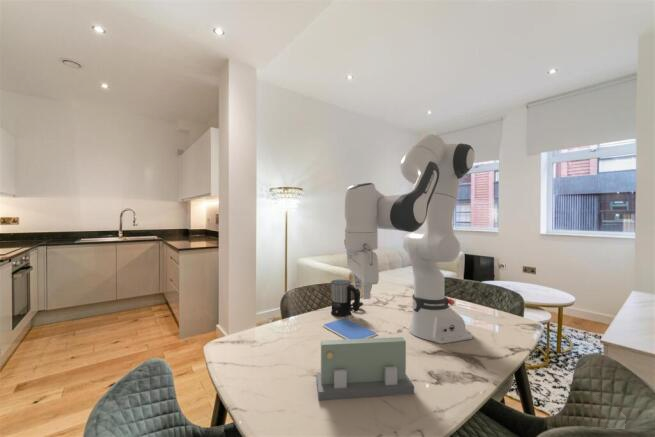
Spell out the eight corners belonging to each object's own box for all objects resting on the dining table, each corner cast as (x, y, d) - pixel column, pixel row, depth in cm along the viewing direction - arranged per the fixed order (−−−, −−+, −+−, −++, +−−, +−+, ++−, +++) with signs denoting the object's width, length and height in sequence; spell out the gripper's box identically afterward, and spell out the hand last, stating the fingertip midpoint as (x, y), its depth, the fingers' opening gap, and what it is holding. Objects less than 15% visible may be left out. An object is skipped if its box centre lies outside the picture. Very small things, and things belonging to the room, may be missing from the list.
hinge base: (401, 375, 75) (401, 353, 75) (414, 393, 67) (414, 370, 67) (316, 380, 73) (316, 358, 73) (318, 400, 65) (318, 375, 65)
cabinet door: (402, 374, 72) (402, 337, 72) (407, 382, 69) (408, 343, 69) (320, 378, 70) (320, 340, 70) (322, 388, 66) (322, 347, 66)
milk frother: (328, 316, 120) (328, 283, 120) (335, 305, 135) (335, 275, 135) (360, 319, 117) (360, 285, 117) (363, 307, 132) (364, 277, 132)
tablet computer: (378, 336, 101) (378, 332, 101) (354, 345, 94) (354, 342, 94) (345, 320, 117) (345, 317, 117) (321, 327, 109) (321, 324, 109)
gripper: (385, 246, 63) (385, 304, 64) (363, 238, 84) (363, 283, 84) (358, 247, 63) (359, 306, 63) (343, 239, 83) (343, 284, 83)
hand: (361, 292), depth 74 cm, fingers open, 8 cm apart
